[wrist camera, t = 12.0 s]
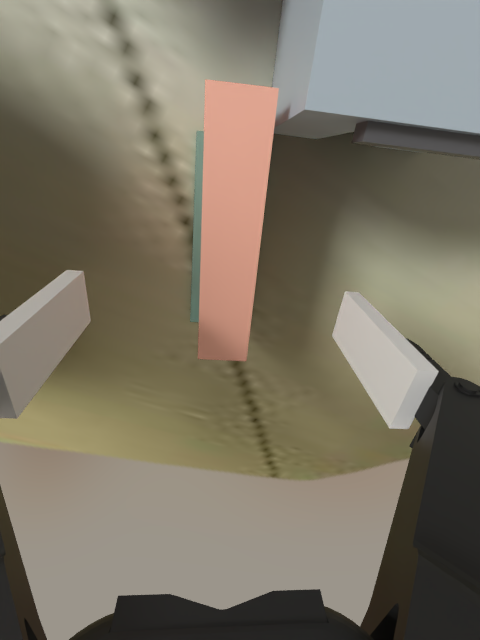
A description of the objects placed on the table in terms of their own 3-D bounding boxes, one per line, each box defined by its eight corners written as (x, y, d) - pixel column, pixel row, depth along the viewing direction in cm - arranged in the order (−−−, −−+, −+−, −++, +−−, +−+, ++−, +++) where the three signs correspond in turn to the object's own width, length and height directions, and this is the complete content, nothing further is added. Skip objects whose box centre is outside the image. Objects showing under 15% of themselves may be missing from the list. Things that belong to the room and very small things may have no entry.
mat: (190, 318, 32) (190, 321, 32) (197, 131, 24) (196, 130, 24) (247, 323, 33) (247, 325, 32) (271, 140, 25) (272, 140, 24)
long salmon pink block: (205, 300, 30) (197, 358, 22) (213, 109, 23) (205, 79, 14) (240, 302, 31) (246, 361, 22) (258, 114, 23) (278, 88, 14)
